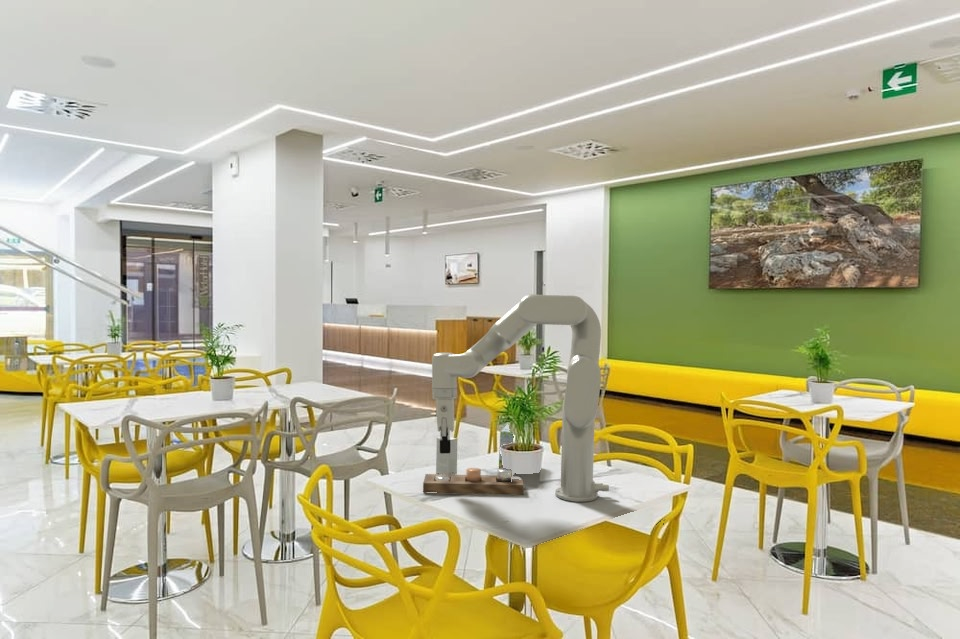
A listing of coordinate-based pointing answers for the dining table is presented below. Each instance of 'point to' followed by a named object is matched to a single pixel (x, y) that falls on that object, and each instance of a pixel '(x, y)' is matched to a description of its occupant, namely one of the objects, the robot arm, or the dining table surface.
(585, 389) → the robot arm
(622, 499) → the dining table surface
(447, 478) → the steel knob
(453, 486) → the walnut mount
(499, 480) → the steel knob
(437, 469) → the skincare box
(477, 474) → the peach knob
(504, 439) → the snack box
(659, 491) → the dining table surface
